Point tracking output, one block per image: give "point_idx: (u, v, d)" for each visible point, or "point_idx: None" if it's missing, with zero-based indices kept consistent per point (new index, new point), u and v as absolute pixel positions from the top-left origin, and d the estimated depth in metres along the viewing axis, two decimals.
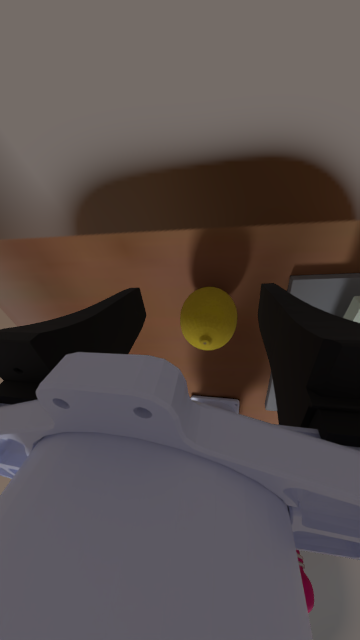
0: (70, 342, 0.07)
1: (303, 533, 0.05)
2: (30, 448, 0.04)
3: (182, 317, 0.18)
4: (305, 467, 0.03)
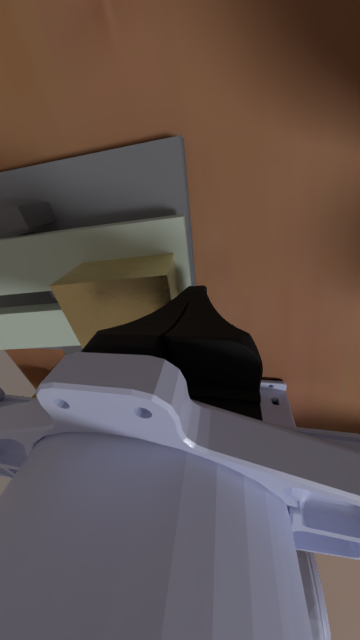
0: None
1: (304, 534, 0.05)
2: (30, 448, 0.04)
3: None
4: (305, 467, 0.03)
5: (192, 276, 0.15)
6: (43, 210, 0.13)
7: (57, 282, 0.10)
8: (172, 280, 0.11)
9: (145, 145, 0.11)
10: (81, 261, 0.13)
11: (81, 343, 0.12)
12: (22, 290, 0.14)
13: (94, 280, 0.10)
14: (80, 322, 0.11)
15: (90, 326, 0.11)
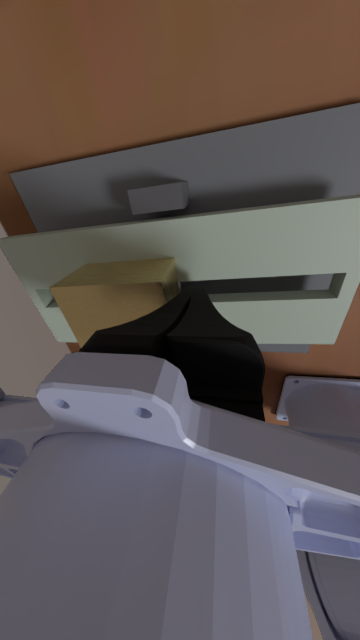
0: None
1: (304, 534, 0.05)
2: (30, 448, 0.04)
3: None
4: (305, 467, 0.03)
5: None
6: (187, 190, 0.12)
7: (57, 284, 0.11)
8: (169, 286, 0.11)
9: (338, 110, 0.10)
10: (234, 248, 0.11)
11: (80, 343, 0.12)
12: None
13: (90, 284, 0.10)
14: (78, 323, 0.11)
15: (88, 328, 0.11)
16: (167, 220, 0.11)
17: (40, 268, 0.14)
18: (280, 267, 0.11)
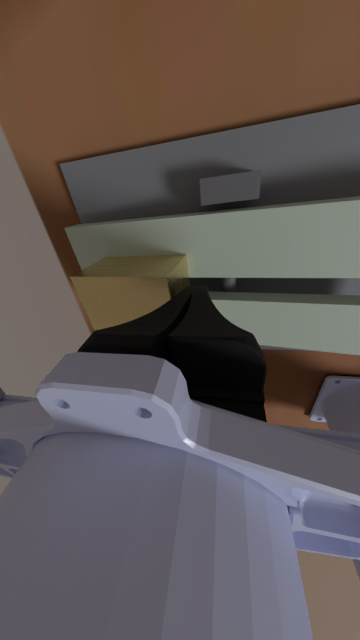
0: (167, 345, 0.06)
1: (304, 534, 0.05)
2: (30, 448, 0.04)
3: None
4: (305, 467, 0.03)
5: None
6: None
7: (77, 274, 0.12)
8: (177, 281, 0.11)
9: None
10: (310, 244, 0.10)
11: (95, 329, 0.14)
12: (209, 274, 0.13)
13: (105, 275, 0.11)
14: (94, 311, 0.13)
15: (102, 315, 0.13)
16: (238, 211, 0.10)
17: (101, 256, 0.14)
18: None
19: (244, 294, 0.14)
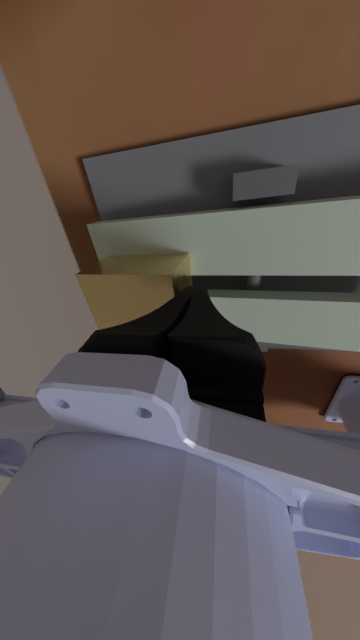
0: (168, 345, 0.06)
1: (304, 534, 0.05)
2: (30, 448, 0.04)
3: None
4: (305, 467, 0.03)
5: None
6: None
7: (82, 272, 0.12)
8: (181, 279, 0.11)
9: None
10: (347, 241, 0.10)
11: (99, 327, 0.14)
12: (236, 272, 0.12)
13: (110, 273, 0.11)
14: (98, 308, 0.13)
15: (106, 313, 0.13)
16: (273, 207, 0.10)
17: (123, 254, 0.14)
18: None
19: (270, 292, 0.13)
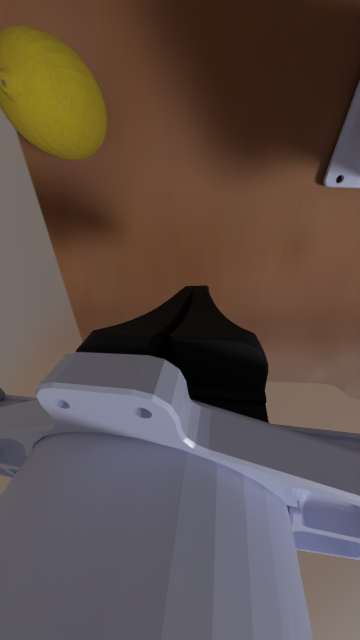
0: (165, 345, 0.06)
1: (304, 534, 0.05)
2: (30, 448, 0.04)
3: None
4: (305, 467, 0.03)
5: None
6: None
7: None
8: None
9: None
10: None
11: None
12: None
13: None
14: None
15: None
16: None
17: None
18: None
19: None
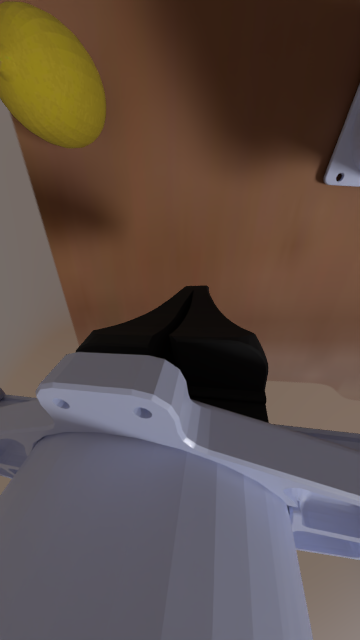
0: (165, 345, 0.06)
1: (304, 534, 0.05)
2: (30, 448, 0.04)
3: (30, 130, 0.12)
4: (305, 467, 0.03)
5: None
6: None
7: None
8: None
9: None
10: None
11: None
12: None
13: None
14: None
15: None
16: None
17: None
18: None
19: None
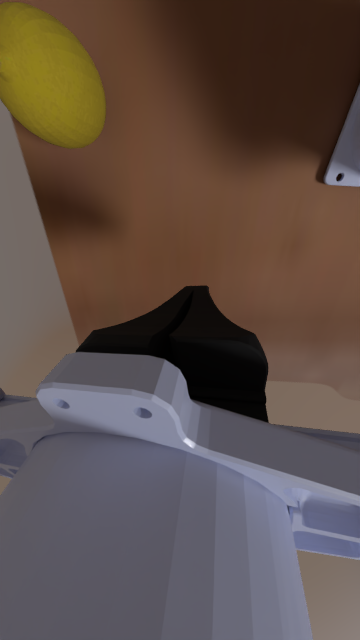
0: (165, 345, 0.06)
1: (304, 534, 0.05)
2: (30, 448, 0.04)
3: (30, 131, 0.12)
4: (305, 467, 0.03)
5: None
6: None
7: None
8: None
9: None
10: None
11: None
12: None
13: None
14: None
15: None
16: None
17: None
18: None
19: None
